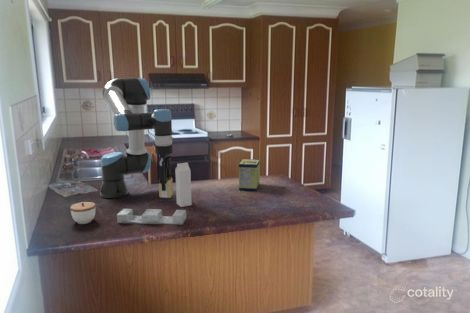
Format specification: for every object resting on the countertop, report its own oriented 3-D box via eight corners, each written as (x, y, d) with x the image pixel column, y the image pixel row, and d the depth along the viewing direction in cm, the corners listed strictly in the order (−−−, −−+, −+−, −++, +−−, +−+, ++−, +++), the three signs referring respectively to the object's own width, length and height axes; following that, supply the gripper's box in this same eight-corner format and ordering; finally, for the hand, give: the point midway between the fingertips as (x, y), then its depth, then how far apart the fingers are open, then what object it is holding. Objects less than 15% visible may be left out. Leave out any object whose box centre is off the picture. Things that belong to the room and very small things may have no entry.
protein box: (259, 183, 234) (259, 159, 231) (256, 191, 219) (256, 165, 216) (242, 183, 236) (242, 158, 233) (238, 190, 221) (238, 164, 218)
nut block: (170, 197, 170) (169, 180, 168) (159, 197, 170) (158, 180, 169) (173, 194, 175) (172, 177, 173) (162, 194, 175) (161, 177, 173)
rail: (117, 223, 173) (116, 214, 172) (123, 216, 180) (123, 208, 180) (182, 224, 170) (182, 216, 170) (186, 218, 178) (186, 209, 177)
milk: (191, 205, 196) (190, 163, 191) (180, 207, 193) (179, 165, 189) (187, 201, 201) (186, 161, 197) (176, 203, 198) (174, 162, 194)
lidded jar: (76, 217, 180) (74, 198, 178) (99, 216, 181) (97, 198, 179) (68, 226, 169) (66, 206, 167) (93, 225, 170) (91, 205, 168)
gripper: (167, 148, 159) (169, 201, 163) (176, 141, 176) (178, 189, 181) (149, 148, 159) (152, 201, 164) (160, 141, 177) (163, 189, 181)
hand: (166, 195), depth 172 cm, fingers closed on nut block, 5 cm apart
